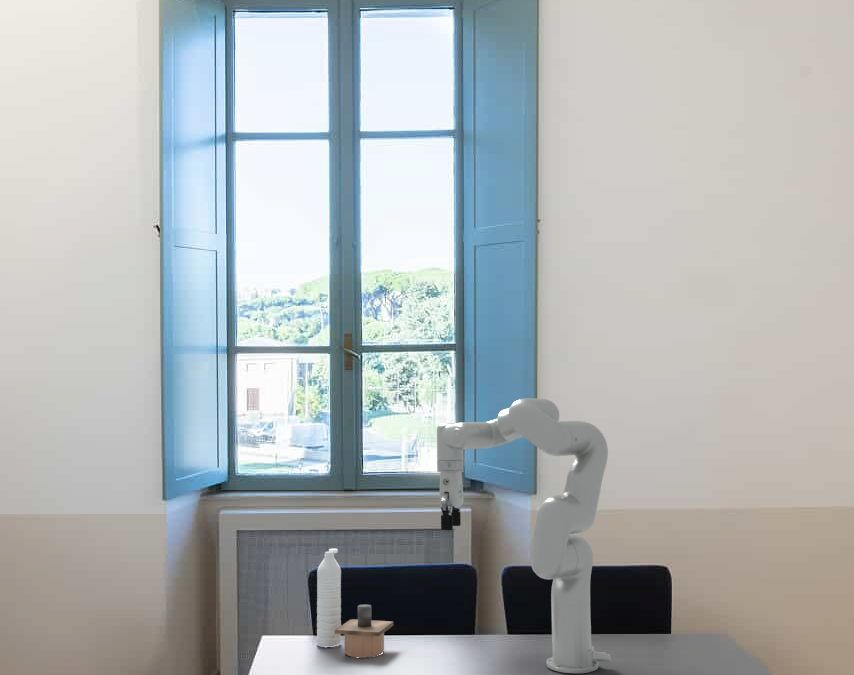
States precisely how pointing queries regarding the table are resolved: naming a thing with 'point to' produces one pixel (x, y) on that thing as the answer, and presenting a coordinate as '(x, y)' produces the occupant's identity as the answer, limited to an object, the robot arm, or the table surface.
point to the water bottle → (328, 600)
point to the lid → (364, 624)
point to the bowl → (364, 645)
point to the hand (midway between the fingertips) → (451, 527)
